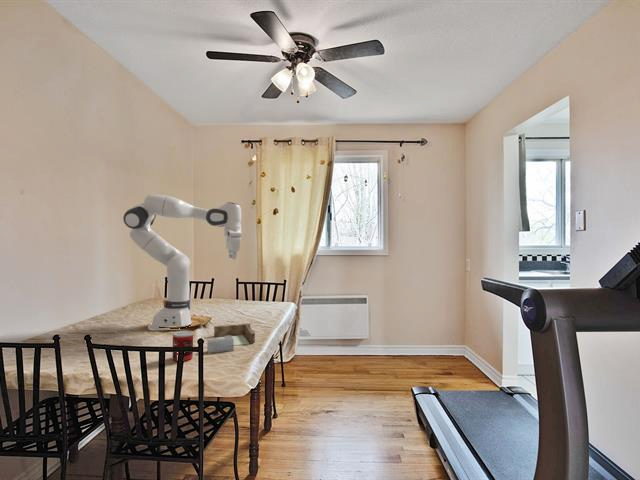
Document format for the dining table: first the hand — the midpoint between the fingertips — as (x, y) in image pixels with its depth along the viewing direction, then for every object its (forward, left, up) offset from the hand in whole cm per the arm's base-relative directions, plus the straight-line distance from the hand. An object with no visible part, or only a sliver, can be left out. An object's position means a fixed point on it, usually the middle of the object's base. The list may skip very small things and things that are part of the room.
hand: (232, 258), depth 195 cm
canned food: (-26, -38, -39) cm, 60 cm away
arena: (-1, -19, -38) cm, 43 cm away
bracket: (-10, -31, -38) cm, 50 cm away
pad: (-3, -20, -38) cm, 43 cm away
